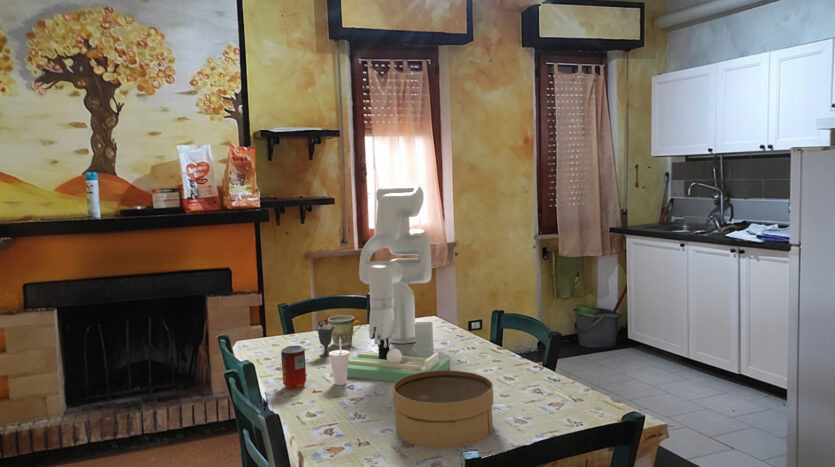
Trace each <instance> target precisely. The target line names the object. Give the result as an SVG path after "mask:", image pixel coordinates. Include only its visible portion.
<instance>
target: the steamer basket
mask: <svg viewBox="0 0 835 467" xmlns="http://www.w3.org/2000/svg"><path fill="white" fill-rule="evenodd" d="M392 397H393V406H394V408H395V431H396V434H397V436H398V437H399V438H400V439H401V440H403V441H405V442H407V443H410V444H412V445H414V446H420V447H425V448H432V449H433V448H437V449H444V448H445V449H446V448H447V449H449V448H460V447H466V446H469V445H473V444H476V443H479V442H480V441H483V440H484V439H486V438H487V437H489V436H491V434H492V433H493V429H494V422H493V411H492V409H493V408H492V407H493V405H494V385H493V382H492V381H491V380H490V379H489V378H487V377H485V376H483V375H481V374H477V373H473V372H468V371H460V370H447V371H445V370H442V371H428V372H421V373H416V374H412V375H409V376H406V377H404V378H401V379H400V380H398V381H397V382H394V384H393V385H392Z"/></svg>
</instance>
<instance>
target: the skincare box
mask: <svg viewBox="0 0 835 467" xmlns="http://www.w3.org/2000/svg"><path fill="white" fill-rule="evenodd" d="M414 343H415V356H419V357H431V356H432V355H433V354H435V349H434V347H435V346H434V345H435V344H434V330H433V321H415V342H414Z"/></svg>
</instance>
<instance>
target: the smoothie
mask: <svg viewBox="0 0 835 467" xmlns="http://www.w3.org/2000/svg"><path fill="white" fill-rule="evenodd" d="M339 345H340V346H339V349H336V350H331V351H329V357H328V358H329V359H330V365H331V370H332V375H333V376H332V377H333V382H334V385H336V386H343V385H346V384H347V382H348V377H347V372H348V359H349V357H350V356H351V355H350V351H349V350H347V349H343V348H342V346H341V339H339Z"/></svg>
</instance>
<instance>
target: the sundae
mask: <svg viewBox="0 0 835 467" xmlns="http://www.w3.org/2000/svg"><path fill="white" fill-rule="evenodd" d="M328 317H330V315H329V314H327V316H326V317H325V319H324V320H322V321H321V320H319V321H318V327H315V331H317V333H318V339H319V343H320V344H321V346H323V347H324V349H323V350H324V352H323V353H322V354H319V357H320V358H330V357H329V353H330V351H329V350H328V349H329V348H328V346H329V345H330V344H331V343H332V341H333V339H332V331H333V329H334V328H335V327H333V326H331V325H330V323H329V321H328V319H329V318H328Z"/></svg>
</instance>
